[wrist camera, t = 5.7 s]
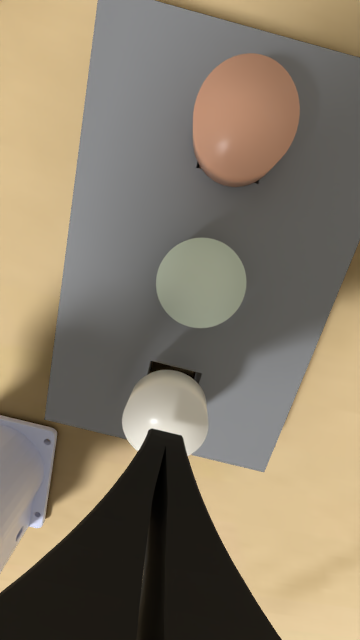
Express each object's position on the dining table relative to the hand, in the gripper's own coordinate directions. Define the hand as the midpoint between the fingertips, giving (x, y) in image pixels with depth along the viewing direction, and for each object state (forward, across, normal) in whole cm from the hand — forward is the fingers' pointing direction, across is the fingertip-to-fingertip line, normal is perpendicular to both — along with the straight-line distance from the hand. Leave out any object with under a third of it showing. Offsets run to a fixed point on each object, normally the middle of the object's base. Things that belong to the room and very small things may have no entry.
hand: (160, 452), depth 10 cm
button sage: (+6, 0, -6) cm, 9 cm away
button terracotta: (+6, 0, -13) cm, 15 cm away
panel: (+7, 0, -6) cm, 10 cm away
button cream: (+5, 0, 0) cm, 5 cm away
